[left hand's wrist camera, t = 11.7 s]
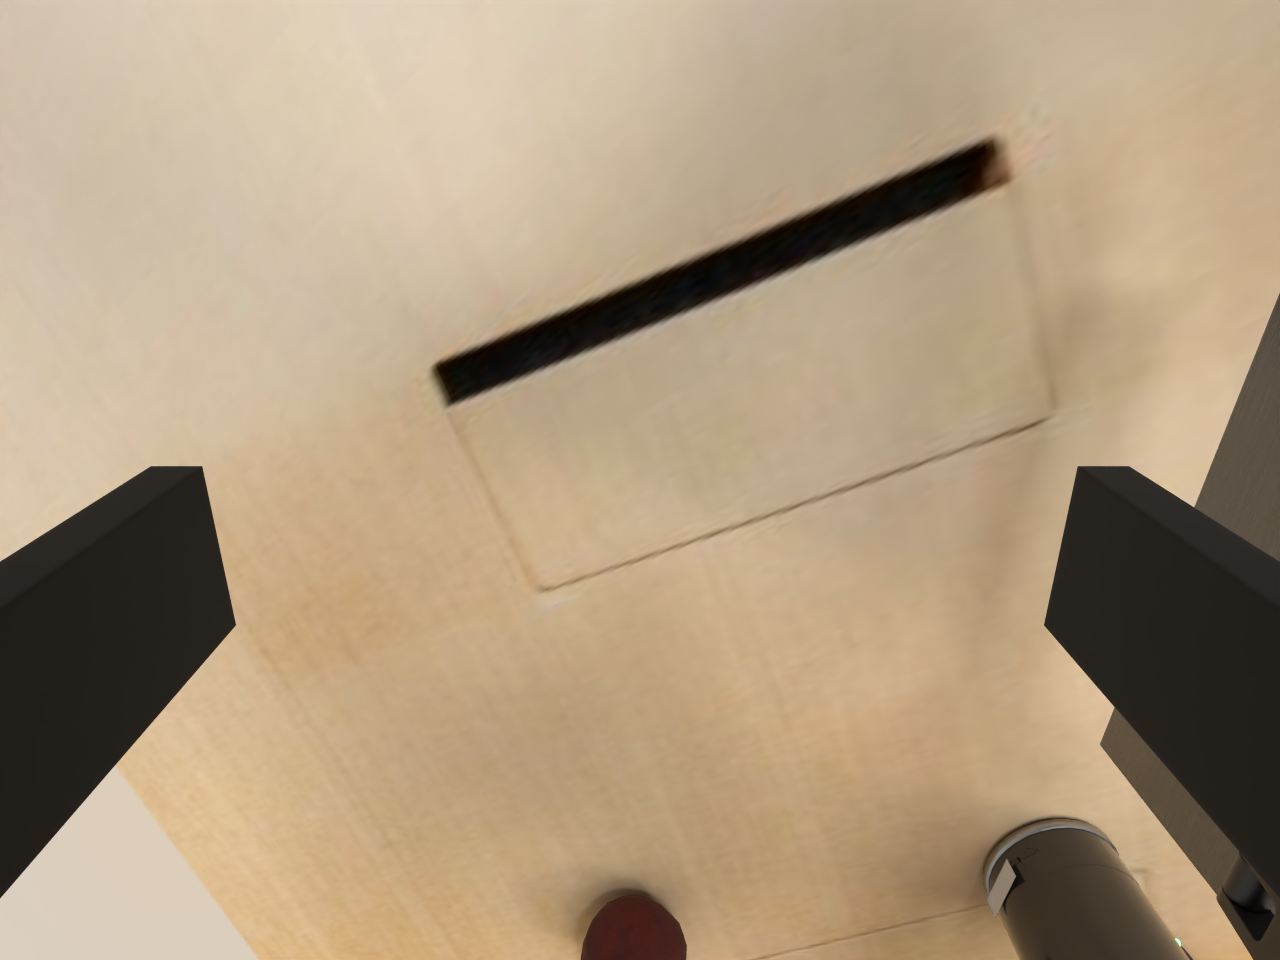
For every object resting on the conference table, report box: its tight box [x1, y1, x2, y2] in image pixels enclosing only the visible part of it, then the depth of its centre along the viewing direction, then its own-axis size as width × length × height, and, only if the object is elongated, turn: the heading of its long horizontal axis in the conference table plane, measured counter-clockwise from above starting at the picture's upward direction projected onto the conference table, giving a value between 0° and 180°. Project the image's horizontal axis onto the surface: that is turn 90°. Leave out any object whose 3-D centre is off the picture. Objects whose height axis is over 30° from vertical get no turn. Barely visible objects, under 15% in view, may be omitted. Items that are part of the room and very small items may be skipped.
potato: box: [581, 895, 687, 960], centre depth 57 cm, size 7×8×7 cm
